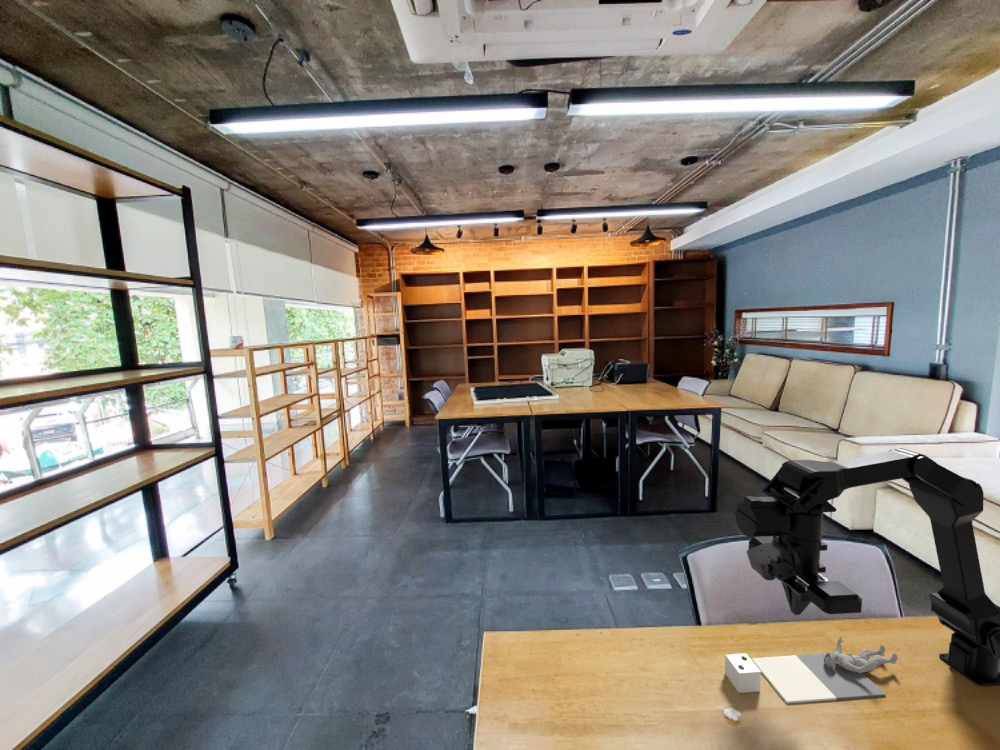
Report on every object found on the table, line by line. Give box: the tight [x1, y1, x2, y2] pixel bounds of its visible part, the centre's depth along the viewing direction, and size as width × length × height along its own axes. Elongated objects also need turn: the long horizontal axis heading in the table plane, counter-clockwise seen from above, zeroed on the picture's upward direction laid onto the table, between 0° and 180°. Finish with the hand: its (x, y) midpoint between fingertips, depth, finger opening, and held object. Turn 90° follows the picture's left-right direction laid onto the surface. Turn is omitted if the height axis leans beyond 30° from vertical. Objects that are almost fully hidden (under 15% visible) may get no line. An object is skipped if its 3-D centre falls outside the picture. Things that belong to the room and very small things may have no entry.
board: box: [751, 652, 887, 704], centre depth 73 cm, size 18×9×1 cm, turn 92°
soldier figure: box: [824, 636, 898, 674], centre depth 74 cm, size 8×5×12 cm
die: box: [724, 652, 762, 694], centre depth 72 cm, size 4×4×4 cm
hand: (795, 613), depth 71 cm, fingers closed
